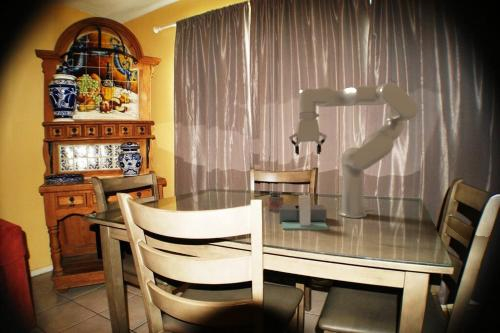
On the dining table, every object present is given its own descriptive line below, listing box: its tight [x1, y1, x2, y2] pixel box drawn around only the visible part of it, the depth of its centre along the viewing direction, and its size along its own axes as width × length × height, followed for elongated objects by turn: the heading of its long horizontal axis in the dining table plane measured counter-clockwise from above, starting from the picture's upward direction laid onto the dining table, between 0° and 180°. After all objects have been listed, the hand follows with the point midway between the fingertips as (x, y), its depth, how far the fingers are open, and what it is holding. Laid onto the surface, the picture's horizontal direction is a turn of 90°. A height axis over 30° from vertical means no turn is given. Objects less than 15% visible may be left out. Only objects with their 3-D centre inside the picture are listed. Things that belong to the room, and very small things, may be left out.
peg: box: [298, 194, 311, 227], centre depth 117 cm, size 4×4×12 cm
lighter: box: [267, 191, 284, 214], centre depth 142 cm, size 8×3×10 cm, turn 62°
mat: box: [281, 222, 329, 231], centre depth 117 cm, size 18×8×1 cm, turn 86°
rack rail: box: [278, 204, 328, 224], centre depth 126 cm, size 20×9×6 cm, turn 86°
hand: (308, 154), depth 132 cm, fingers open, 9 cm apart
